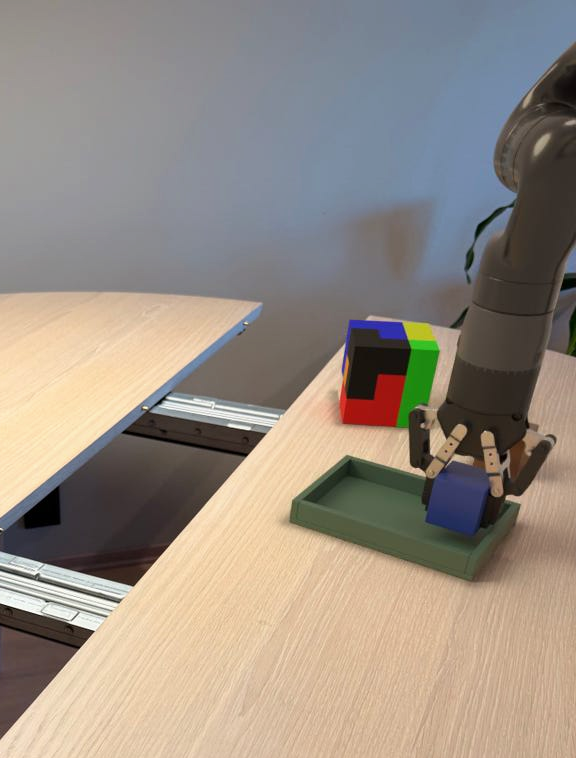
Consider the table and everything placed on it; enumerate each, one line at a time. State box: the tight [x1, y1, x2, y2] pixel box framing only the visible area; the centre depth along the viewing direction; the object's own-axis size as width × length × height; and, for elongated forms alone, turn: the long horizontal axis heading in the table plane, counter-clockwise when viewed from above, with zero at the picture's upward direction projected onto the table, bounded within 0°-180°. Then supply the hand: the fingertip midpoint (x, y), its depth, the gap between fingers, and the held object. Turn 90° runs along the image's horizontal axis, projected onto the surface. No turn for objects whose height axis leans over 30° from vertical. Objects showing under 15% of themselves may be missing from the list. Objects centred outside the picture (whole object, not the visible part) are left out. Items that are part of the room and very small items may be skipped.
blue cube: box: [425, 460, 490, 537], centre depth 98 cm, size 5×5×5 cm
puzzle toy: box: [337, 319, 441, 428], centre depth 125 cm, size 10×10×10 cm
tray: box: [288, 454, 522, 582], centre depth 103 cm, size 20×14×3 cm
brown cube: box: [472, 422, 540, 478], centre depth 114 cm, size 5×5×5 cm
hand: (457, 516), depth 100 cm, fingers closed on blue cube, 5 cm apart
